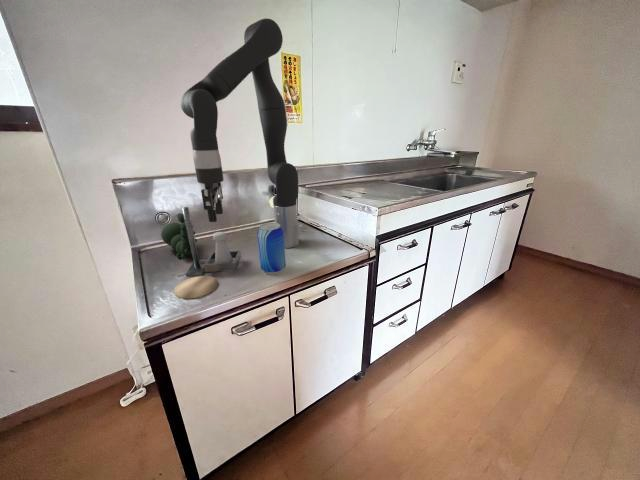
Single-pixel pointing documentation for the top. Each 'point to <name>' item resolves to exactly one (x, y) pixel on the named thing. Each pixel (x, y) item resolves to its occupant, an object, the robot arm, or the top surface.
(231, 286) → the top surface
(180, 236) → the toy figurine
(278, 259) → the beer can
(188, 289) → the disc
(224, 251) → the salt shaker
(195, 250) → the ring stand
